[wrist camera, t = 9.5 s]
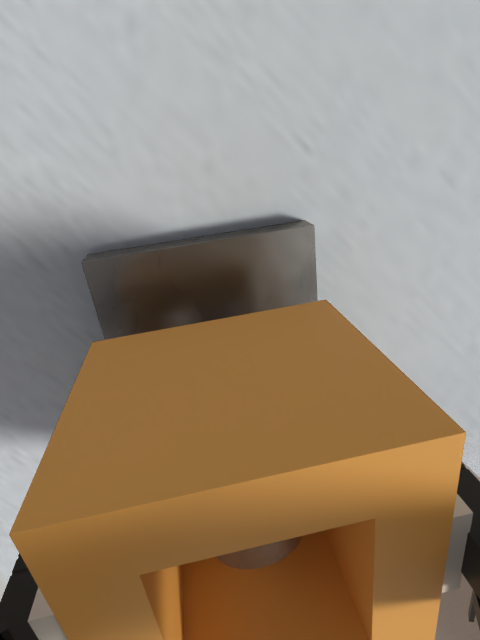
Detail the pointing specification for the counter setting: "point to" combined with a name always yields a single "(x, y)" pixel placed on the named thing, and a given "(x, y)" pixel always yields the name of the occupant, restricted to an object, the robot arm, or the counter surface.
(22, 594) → the robot arm
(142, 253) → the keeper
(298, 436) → the hollow block
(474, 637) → the coffee cup
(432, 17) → the counter surface
